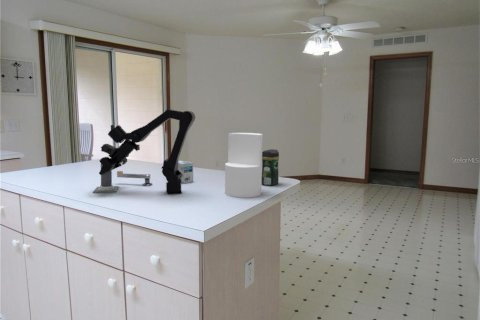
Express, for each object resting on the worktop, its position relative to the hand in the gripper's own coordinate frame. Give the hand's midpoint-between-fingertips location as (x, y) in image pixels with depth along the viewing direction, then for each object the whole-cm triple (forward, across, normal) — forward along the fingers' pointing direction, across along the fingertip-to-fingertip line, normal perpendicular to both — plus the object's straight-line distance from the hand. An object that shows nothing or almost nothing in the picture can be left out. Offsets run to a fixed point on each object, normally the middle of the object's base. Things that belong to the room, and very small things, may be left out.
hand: (102, 173), depth 165 cm
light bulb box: (-17, -25, +30) cm, 42 cm away
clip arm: (-3, -14, +10) cm, 18 cm away
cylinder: (-41, -3, +54) cm, 68 cm away
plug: (+4, 0, +6) cm, 7 cm away
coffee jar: (-50, -24, +63) cm, 84 cm away
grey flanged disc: (-6, -14, +18) cm, 23 cm away
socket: (+5, 0, +7) cm, 9 cm away
